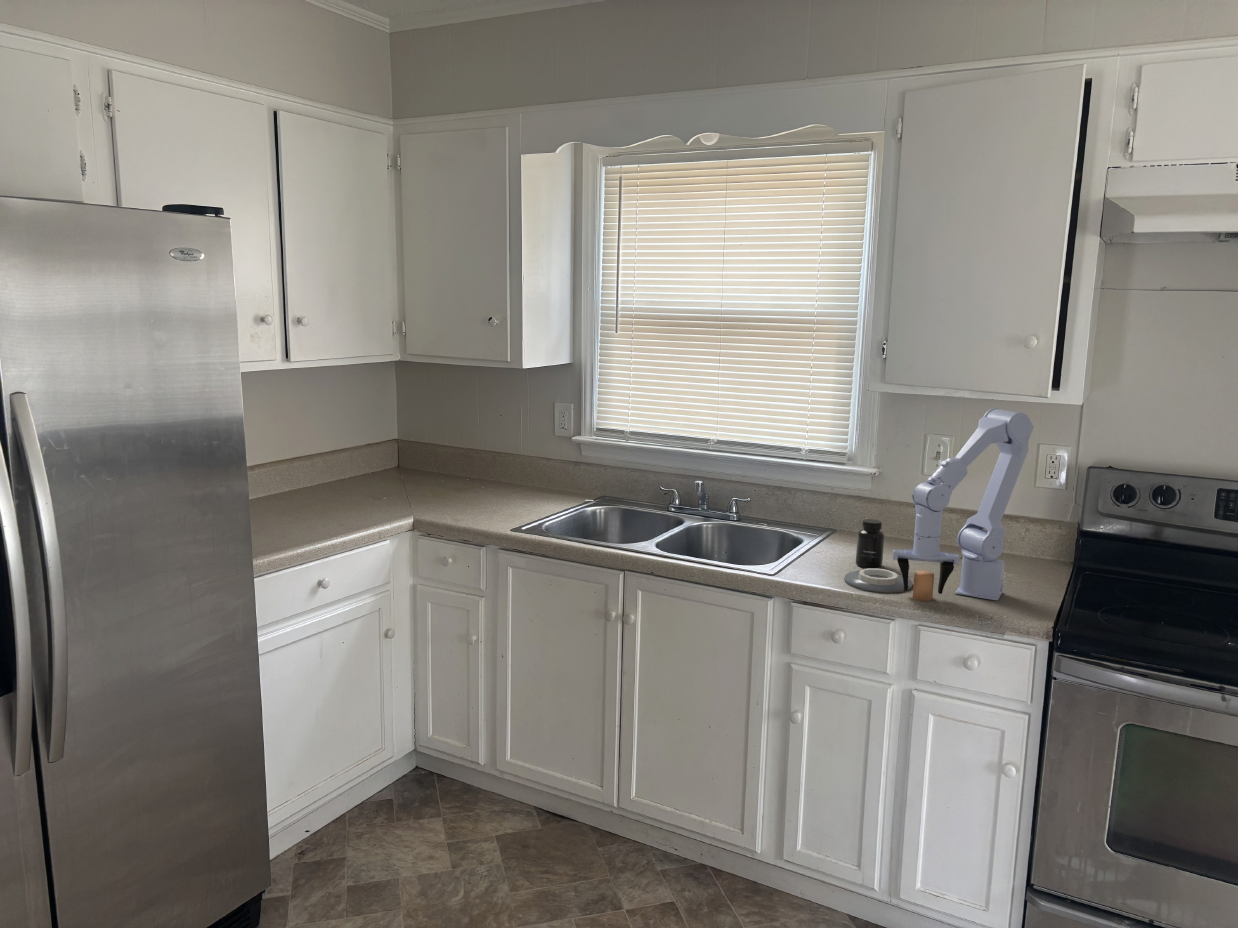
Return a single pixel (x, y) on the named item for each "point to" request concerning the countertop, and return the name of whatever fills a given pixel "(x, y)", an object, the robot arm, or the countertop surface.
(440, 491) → the countertop surface
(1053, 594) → the countertop surface
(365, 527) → the countertop surface
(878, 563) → the supplement bottle
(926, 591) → the tan rounded block
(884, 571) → the tray
